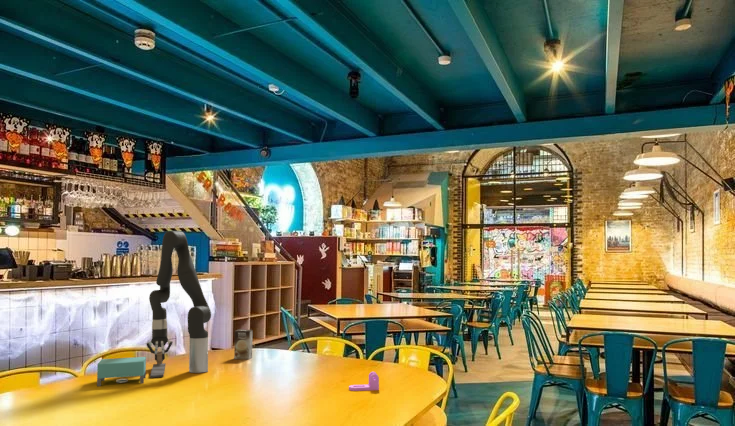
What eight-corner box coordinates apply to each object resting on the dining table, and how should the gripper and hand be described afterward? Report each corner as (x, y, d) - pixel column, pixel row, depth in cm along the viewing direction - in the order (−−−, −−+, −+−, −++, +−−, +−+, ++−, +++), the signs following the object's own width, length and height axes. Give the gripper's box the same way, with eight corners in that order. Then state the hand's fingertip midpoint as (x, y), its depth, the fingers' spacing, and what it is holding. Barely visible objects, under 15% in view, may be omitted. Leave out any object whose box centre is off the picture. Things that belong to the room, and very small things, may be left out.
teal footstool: (145, 377, 291) (145, 356, 291) (143, 383, 278) (143, 361, 279) (101, 380, 285) (101, 359, 286) (97, 386, 272) (97, 364, 273)
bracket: (377, 387, 267) (376, 371, 268) (378, 390, 262) (378, 374, 262) (348, 388, 266) (348, 372, 266) (349, 391, 260) (349, 375, 261)
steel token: (128, 381, 285) (128, 378, 285) (127, 383, 280) (127, 380, 280) (117, 381, 283) (117, 379, 283) (115, 384, 278) (115, 381, 278)
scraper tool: (154, 361, 316) (154, 350, 316) (166, 361, 317) (166, 349, 317) (150, 377, 289) (150, 365, 289) (163, 376, 290) (163, 364, 290)
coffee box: (233, 359, 337) (233, 330, 338) (237, 357, 344) (237, 329, 345) (249, 359, 336) (249, 330, 337) (252, 357, 343) (252, 329, 344)
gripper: (173, 326, 319) (173, 358, 318) (146, 327, 315) (146, 360, 314) (173, 327, 312) (173, 361, 311) (145, 329, 308) (145, 363, 307)
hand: (159, 360), depth 312 cm, fingers closed on scraper tool
